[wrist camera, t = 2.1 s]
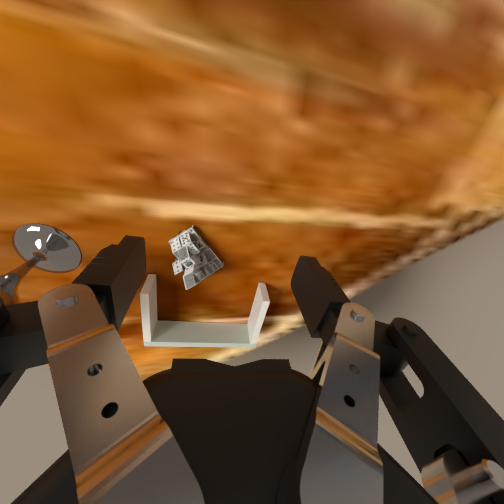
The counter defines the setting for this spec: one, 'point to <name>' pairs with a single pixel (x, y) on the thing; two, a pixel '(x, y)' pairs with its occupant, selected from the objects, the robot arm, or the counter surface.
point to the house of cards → (193, 257)
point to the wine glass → (38, 256)
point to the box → (199, 324)
